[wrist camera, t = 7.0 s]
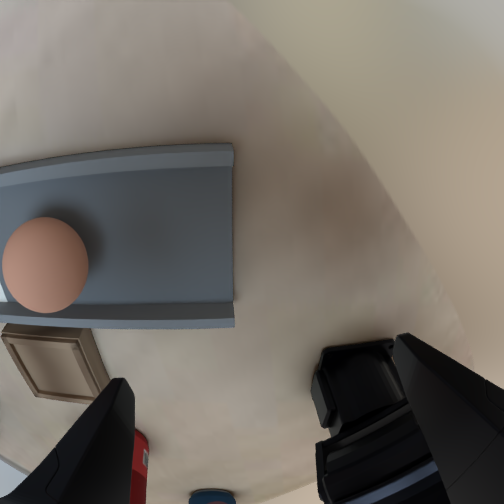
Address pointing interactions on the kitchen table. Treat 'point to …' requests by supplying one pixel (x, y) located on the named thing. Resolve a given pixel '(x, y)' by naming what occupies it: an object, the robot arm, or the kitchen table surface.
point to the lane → (133, 234)
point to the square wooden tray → (57, 361)
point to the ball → (45, 265)
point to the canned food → (139, 470)
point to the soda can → (212, 497)
